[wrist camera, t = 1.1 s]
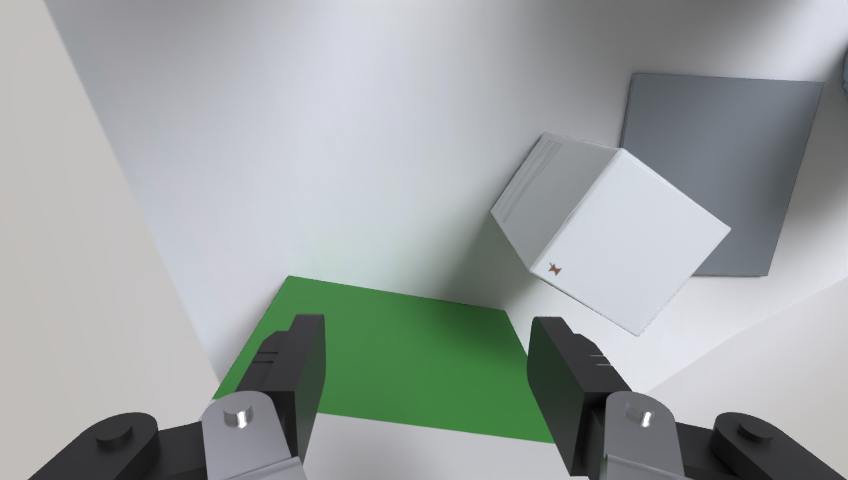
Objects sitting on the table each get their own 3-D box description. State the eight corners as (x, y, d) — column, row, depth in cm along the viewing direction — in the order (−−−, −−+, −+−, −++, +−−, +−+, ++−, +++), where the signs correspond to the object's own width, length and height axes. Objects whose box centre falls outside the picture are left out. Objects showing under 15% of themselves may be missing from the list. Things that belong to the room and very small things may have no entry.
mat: (632, 73, 32) (635, 73, 31) (819, 82, 32) (824, 82, 32) (598, 271, 36) (601, 272, 36) (763, 274, 37) (767, 276, 37)
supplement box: (562, 260, 35) (636, 344, 23) (486, 210, 34) (523, 272, 22) (624, 183, 34) (738, 230, 21) (546, 127, 32) (621, 145, 20)
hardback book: (278, 357, 37) (84, 774, 14) (288, 275, 35) (79, 613, 12) (483, 386, 39) (602, 796, 16) (505, 310, 37) (676, 659, 14)
